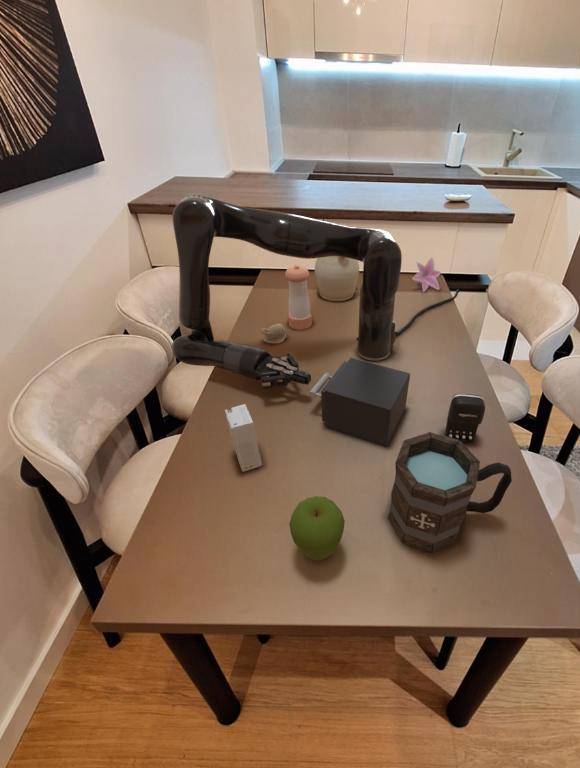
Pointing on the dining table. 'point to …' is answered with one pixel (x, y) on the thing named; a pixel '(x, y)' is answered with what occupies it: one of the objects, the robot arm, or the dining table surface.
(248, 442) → the cosmetic box
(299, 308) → the salt shaker
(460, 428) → the battery charger
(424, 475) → the mug
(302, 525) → the apple
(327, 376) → the drawer
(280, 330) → the decorative ornament
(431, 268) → the lily
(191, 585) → the dining table surface
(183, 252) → the robot arm
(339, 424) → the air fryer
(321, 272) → the jug
